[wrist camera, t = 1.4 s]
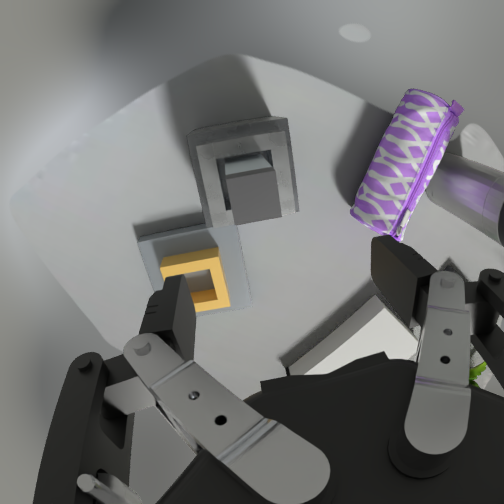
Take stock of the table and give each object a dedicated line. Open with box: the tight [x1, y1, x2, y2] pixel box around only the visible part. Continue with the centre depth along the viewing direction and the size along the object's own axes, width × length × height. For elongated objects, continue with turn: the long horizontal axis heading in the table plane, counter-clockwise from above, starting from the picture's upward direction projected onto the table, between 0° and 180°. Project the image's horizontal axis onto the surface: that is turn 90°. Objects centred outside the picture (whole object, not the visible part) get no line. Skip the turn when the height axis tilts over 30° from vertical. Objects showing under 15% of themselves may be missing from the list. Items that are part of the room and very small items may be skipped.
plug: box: [225, 154, 282, 225], centre depth 27 cm, size 4×4×9 cm
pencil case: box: [350, 89, 464, 242], centre depth 37 cm, size 22×9×10 cm, turn 159°
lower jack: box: [137, 223, 253, 317], centre depth 44 cm, size 14×14×5 cm
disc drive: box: [286, 295, 418, 376], centre depth 56 cm, size 18×22×5 cm
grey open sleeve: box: [187, 116, 299, 228], centre depth 34 cm, size 10×10×13 cm
